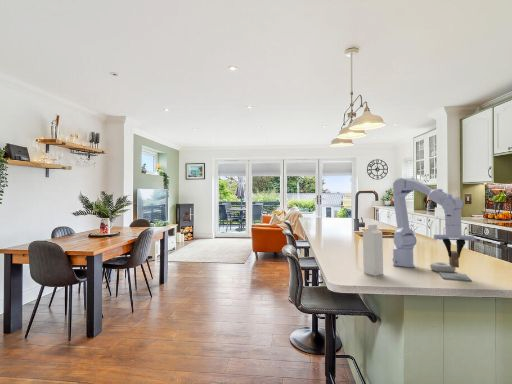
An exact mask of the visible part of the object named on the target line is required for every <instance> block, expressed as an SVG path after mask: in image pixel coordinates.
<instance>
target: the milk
mask: <svg viewBox="0 0 512 384" xmlns="http://www.w3.org/2000/svg"><path fill="white" fill-rule="evenodd" d="M383 239H384V238H383V231H381V230H380V229H379V228H378V224H370V225H368V226H367V229H365V230H363V231H362V252H363V253H362V254H363V255H362V256H363V274H366V275H370V276H372V277H373V276H374V277H376V276H380V275H384V250H383V249H384V248H383V246H384V245H383V244H384V242H383V241H384V240H383Z"/></svg>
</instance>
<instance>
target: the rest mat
mask: <svg viewBox="0 0 512 384" xmlns="http://www.w3.org/2000/svg"><path fill="white" fill-rule="evenodd" d="M438 274H439V275H440V277H441V279H442V280H451V281H462V282H463V281H464V282H473V281H472V279H471V278H470V277H469V276H468V275H467V274H466V273H456V272H452V273H446V272H438Z"/></svg>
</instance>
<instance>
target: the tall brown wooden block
mask: <svg viewBox="0 0 512 384" xmlns="http://www.w3.org/2000/svg"><path fill="white" fill-rule="evenodd" d="M448 257H449V256H448ZM459 259H460V258H459V254H458V252H457V250H451V257H449V259H448V260H449V261H448V263H449V264H450V265H451V266H452V267H455V268H457V269H458V268H460V260H459Z"/></svg>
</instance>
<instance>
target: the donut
mask: <svg viewBox="0 0 512 384" xmlns="http://www.w3.org/2000/svg"><path fill="white" fill-rule="evenodd" d="M429 267H430V269H431V270H432V271H434V272H437V273H439V272H446V273H455V271H456V270H457V269H456V268H457V267H452V266H451V265H450V264H449V262H441V261H434V262H431V263H430V265H429Z"/></svg>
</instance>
